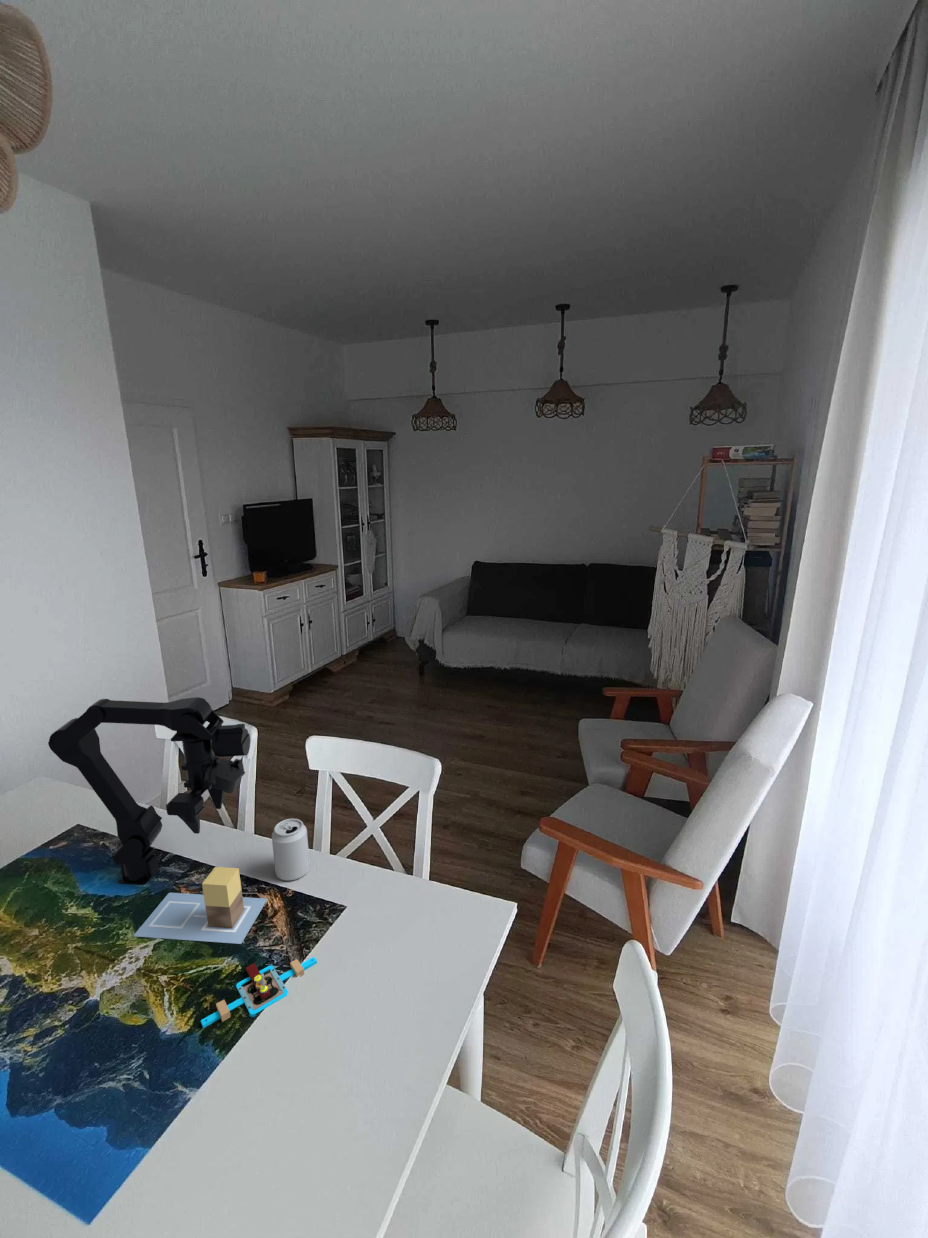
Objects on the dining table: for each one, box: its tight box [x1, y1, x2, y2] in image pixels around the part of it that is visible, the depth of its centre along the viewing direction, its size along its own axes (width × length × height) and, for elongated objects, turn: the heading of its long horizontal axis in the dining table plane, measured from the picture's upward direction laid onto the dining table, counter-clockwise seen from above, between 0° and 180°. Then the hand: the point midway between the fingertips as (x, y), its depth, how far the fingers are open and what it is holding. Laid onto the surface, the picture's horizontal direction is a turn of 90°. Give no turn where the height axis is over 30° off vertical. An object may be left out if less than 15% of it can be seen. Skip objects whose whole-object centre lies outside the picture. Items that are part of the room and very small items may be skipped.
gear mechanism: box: [200, 956, 318, 1029], centre depth 101 cm, size 20×5×9 cm
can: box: [271, 818, 311, 882], centre depth 129 cm, size 8×8×12 cm
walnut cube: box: [205, 888, 244, 928], centre depth 116 cm, size 5×5×5 cm
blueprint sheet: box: [133, 892, 268, 945], centre depth 117 cm, size 22×12×1 cm, turn 84°
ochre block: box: [201, 866, 242, 907], centre depth 115 cm, size 5×5×5 cm
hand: (208, 820), depth 128 cm, fingers open, 9 cm apart
